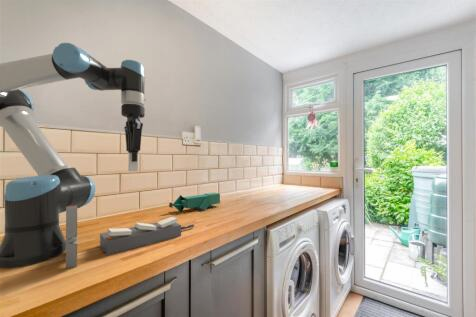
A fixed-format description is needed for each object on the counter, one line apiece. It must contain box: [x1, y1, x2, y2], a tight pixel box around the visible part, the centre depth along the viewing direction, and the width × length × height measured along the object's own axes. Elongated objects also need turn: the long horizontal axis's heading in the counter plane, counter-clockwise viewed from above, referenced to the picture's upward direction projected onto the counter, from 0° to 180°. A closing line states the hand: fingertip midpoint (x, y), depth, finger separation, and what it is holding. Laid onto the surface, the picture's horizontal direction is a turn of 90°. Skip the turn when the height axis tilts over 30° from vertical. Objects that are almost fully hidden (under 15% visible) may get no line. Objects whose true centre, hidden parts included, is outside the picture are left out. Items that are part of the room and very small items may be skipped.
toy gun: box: [65, 205, 78, 270], centre depth 61 cm, size 2×16×15 cm
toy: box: [168, 191, 221, 213], centre depth 123 cm, size 12×10×30 cm
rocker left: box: [106, 227, 132, 236], centre depth 68 cm, size 6×4×1 cm, turn 133°
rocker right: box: [157, 216, 178, 228], centre depth 79 cm, size 6×4×1 cm, turn 133°
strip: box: [99, 221, 195, 256], centre depth 78 cm, size 32×10×4 cm, turn 133°
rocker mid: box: [134, 222, 157, 230], centre depth 74 cm, size 6×4×1 cm, turn 132°
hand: (133, 170), depth 77 cm, fingers closed
